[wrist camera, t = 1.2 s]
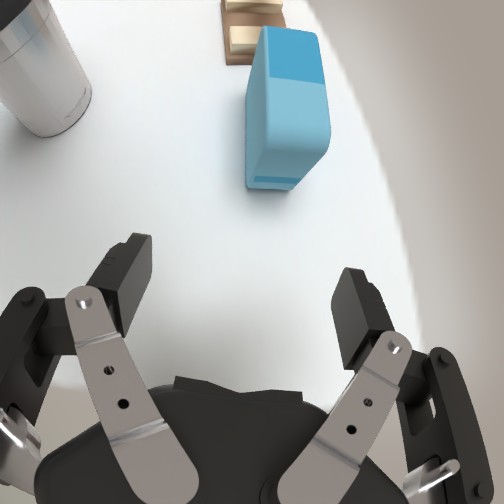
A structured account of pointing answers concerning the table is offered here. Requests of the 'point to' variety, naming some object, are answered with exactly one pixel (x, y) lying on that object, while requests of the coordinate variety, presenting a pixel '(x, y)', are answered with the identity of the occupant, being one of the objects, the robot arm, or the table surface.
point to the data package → (285, 109)
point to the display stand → (247, 26)
